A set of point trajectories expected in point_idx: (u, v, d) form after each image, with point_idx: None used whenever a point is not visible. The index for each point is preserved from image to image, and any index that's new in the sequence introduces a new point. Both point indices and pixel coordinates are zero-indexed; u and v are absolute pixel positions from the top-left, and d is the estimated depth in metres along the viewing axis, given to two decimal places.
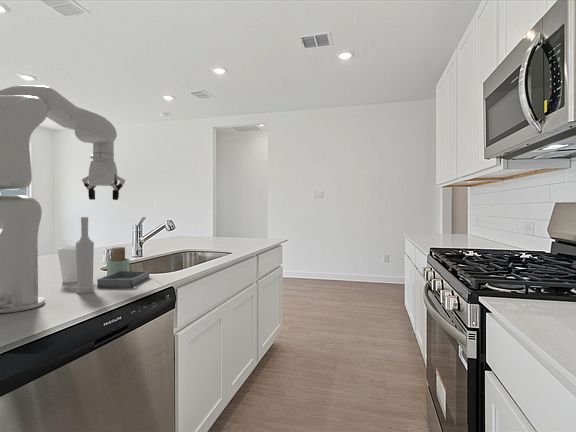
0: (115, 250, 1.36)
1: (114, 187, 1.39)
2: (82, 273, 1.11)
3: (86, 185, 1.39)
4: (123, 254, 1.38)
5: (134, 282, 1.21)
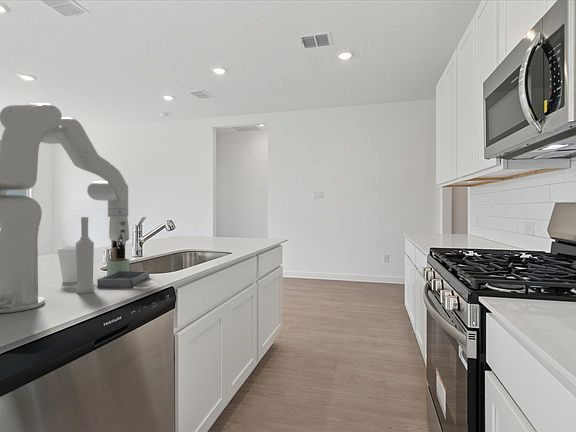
0: (115, 250, 1.36)
1: None
2: (82, 273, 1.11)
3: None
4: None
5: (134, 282, 1.21)
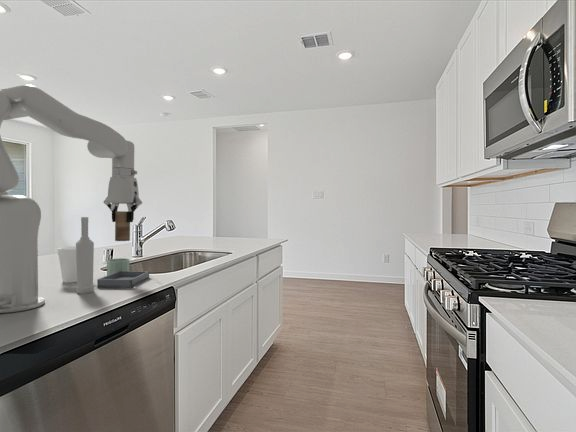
0: (124, 213, 1.26)
1: None
2: (82, 273, 1.11)
3: None
4: None
5: (134, 282, 1.21)
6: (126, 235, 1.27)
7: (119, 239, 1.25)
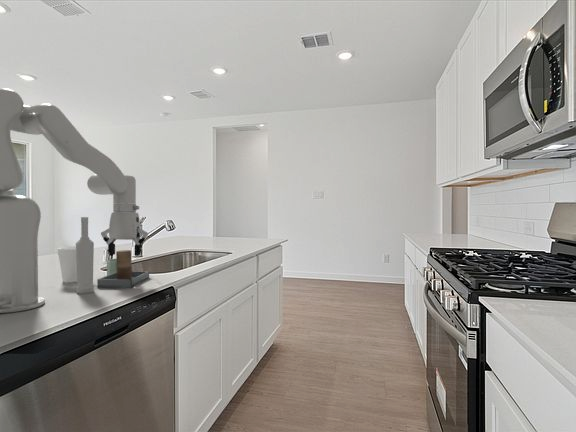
0: (126, 253, 1.24)
1: None
2: (82, 273, 1.11)
3: None
4: None
5: (134, 282, 1.21)
6: (128, 276, 1.25)
7: None
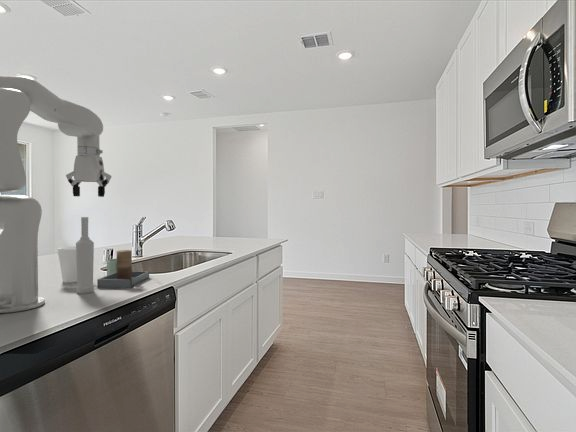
0: (126, 254, 1.24)
1: None
2: (82, 273, 1.11)
3: None
4: None
5: (134, 282, 1.21)
6: (128, 276, 1.25)
7: None
